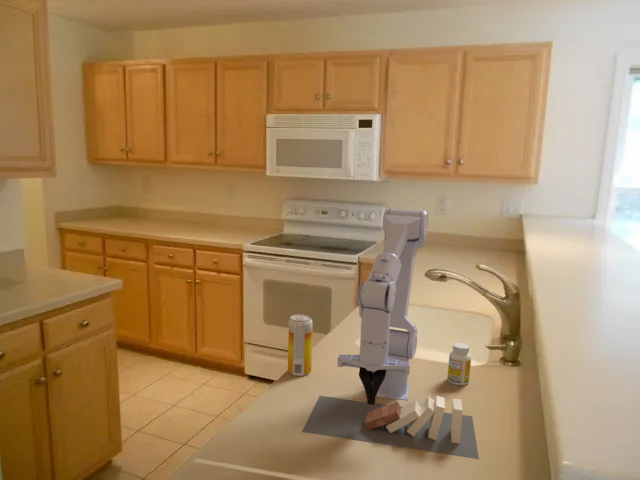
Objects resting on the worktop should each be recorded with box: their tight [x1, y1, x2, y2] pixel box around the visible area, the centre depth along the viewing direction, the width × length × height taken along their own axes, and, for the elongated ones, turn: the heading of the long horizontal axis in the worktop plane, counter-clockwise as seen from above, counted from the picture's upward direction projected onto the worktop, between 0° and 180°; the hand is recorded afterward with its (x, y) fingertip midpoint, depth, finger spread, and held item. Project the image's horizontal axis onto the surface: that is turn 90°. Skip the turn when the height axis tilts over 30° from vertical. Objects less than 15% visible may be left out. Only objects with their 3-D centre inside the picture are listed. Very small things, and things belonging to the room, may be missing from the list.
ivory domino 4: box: [451, 397, 463, 444], centre depth 97 cm, size 2×4×7 cm, turn 167°
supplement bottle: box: [447, 342, 472, 386], centre depth 123 cm, size 5×5×10 cm
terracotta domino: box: [365, 401, 402, 430], centre depth 100 cm, size 2×4×7 cm
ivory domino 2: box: [407, 396, 435, 437], centre depth 98 cm, size 2×4×7 cm
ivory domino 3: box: [428, 395, 446, 440], centre depth 98 cm, size 2×4×7 cm, turn 167°
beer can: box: [287, 314, 314, 377], centre depth 125 cm, size 6×6×15 cm
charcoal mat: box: [301, 395, 480, 460], centre depth 102 cm, size 16×34×1 cm, turn 77°
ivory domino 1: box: [386, 399, 421, 433], centre depth 99 cm, size 2×4×7 cm
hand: (371, 402), depth 100 cm, fingers closed
